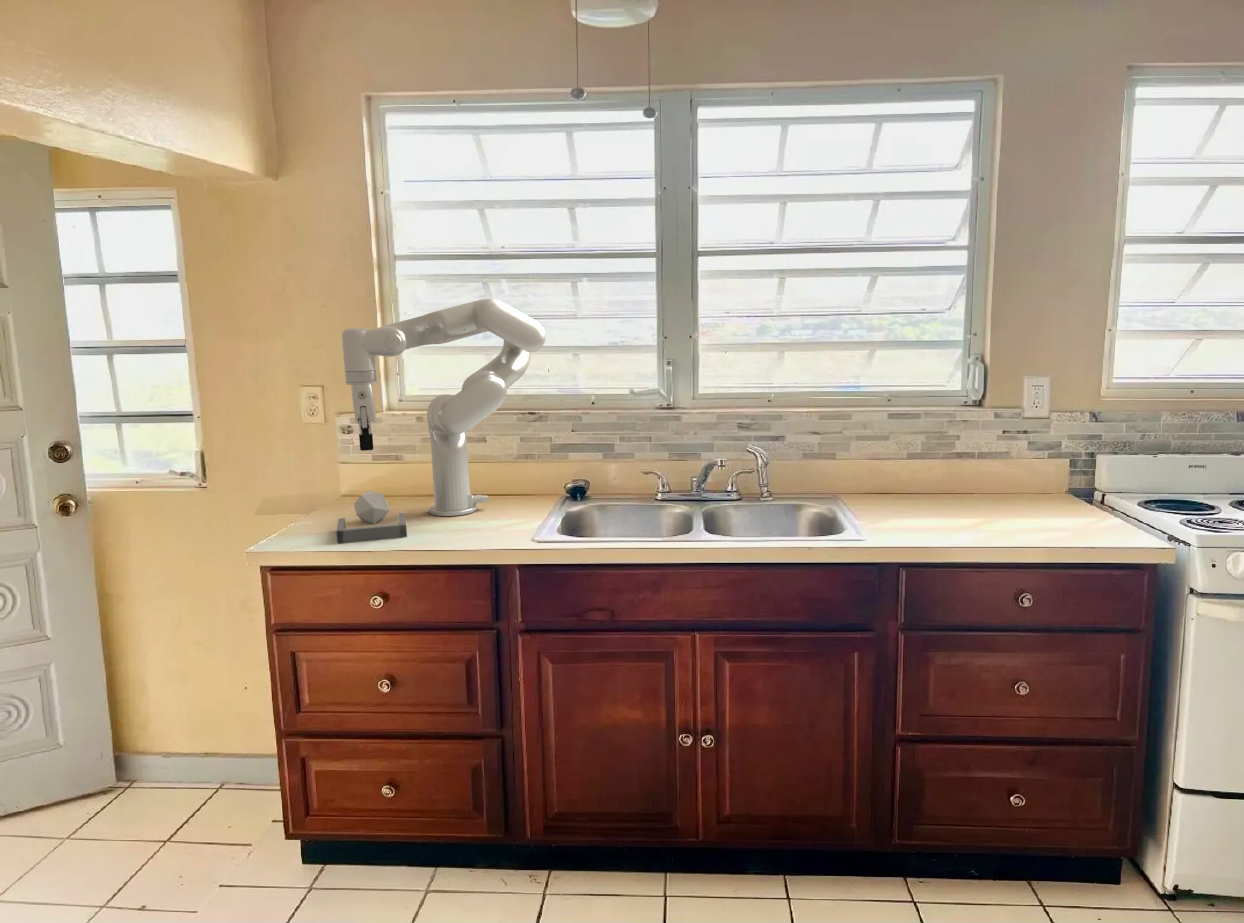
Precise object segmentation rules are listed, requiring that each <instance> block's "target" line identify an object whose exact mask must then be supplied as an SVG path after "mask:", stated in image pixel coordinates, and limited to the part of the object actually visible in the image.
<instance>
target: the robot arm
mask: <svg viewBox="0 0 1244 923" xmlns="http://www.w3.org/2000/svg"><path fill="white" fill-rule="evenodd" d="M486 332H490V333H492V334H493V335H494V336H497V337H498V338H500V339H502V340H503V345H502V349H501V351H500V352H499V353H498V355H497V356H495V358H494V359H492V360H491V361H490V362H488V363H487V364H485V365H484V366H482V367H481V368H480V369H478V370H476V371H475V372H472V373H471V374H470V375H469V376H467V377H466V379H465V380H464V381H463V384H462V386H461V390H459V392H457V393H456V394H454V395H452V394H446V393H445V394H440V395H438V396H436V397H434V398H433V399H432V400H431V401H430V402H429V404H428V407H427V411H426V417H427V418H426V419H427V420H426V421H427V427H428V433H429V439H430V450H431V464H432V468H431V470H432V480H433V483H432V484H433V498H434V505H431V506H430V507H429V513H430V514H431V515H433V516H438V517H455V516H463V515H468V514H471V513H474V512H476V510H477V508H478V506H477V504H479V503H482V504H483V503H488V502H489V499H488V498H489V496H488V494H487V495H483V494H478V495H477V494H476V495H475V494H473V493H472V492H471V488H470V486H471V485H470V471H469V470H470V469H469V456H468V454H469V451H468V440H467V433H466V432H467V431H470V430H471V429H473V428H474V427H476V426H477V425H478V424H479V423H481V422H482V421H483V420H485V419H486V418H488V417H489V416H490V415H492V414H493V413H494V412H496V411H497V410H498V409H499V408H500V407H501V406H502V405H503V403H504V402H505V400H506V398H507V395H508V394H507V392H508V389H509V388H511V386H512V385H514V384H515V383H517V381H518V380H520V379H521V378H522V377H523V375H525V373H526V371H527V370H528V367H529V364H530V362H531V361H530V360H531V358H532V353H534V352H537V351H538V350H540V349H541V348H543V345H544V344H545V342H546V331H545V328H544V327H543V325H542V324H540V322H539V321H537V320H535V319H534V318H532V317H530V316H528V315H526V314H524V313H523V312H521V311H519V310H517V309H515V308H514V307H512V306H510V305H508V304H507V303H505V302H503V301H501V300H499V299H496V298H483V299H478V300H473V301H470V302H466V303H461V304H458V305H454V306H452V307H448V308H447V307H446V308H444V309H438V310H436V311H432V312H429V313H426V314H423V315H420V316H416V317H413V318H409V319H405V320H400V321H398V322H394V323H390V324H386V325H383V326H379V327H377V328H374V329H373V328H371V329H370V328H363V327H362V328H361V327H360V328H359V327H358V328H355V327H354V328H348V329H344V330H343V331H342V334H341V342H342V351H343V364H344V377H345V379H344V380H345V385H347V386H351V398H352V407H353V414H354V420H355V423H356V424H358V428H359V433H358V434H359V435H358V438H359V450H360V451H362V452H364V451H373V450H374V438H373V433H372V427H371V426H372V425H371V424H372V423H371V422H373V424H375V423H376V422H377V416H376V414H377V413H376V401H375V400H376V399H375V391H374V385H373V384H377V383H378V382H377V381H378V380H377V365H376V357H377V356H379V357H390V358H391V357H393V358H394V357H397V356H399V355H402V353H403V352H404V351H405V350H410V349H414V348H417V347H423V346H429V345H442V344H448V343H451V342H454V341H457V340H462V339H465V338H468V337H471V336H475V335H479V334H482V333H486Z"/></svg>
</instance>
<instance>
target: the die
mask: <svg viewBox="0 0 1244 923" xmlns="http://www.w3.org/2000/svg"><path fill="white" fill-rule="evenodd" d="M353 505H354V506H353V507H354V509H355V513H356V514H355V515H356V516H357V517H358V518H359V520H360V521H361V522H363V523H368V524H372V525H375V524H377V523H378V522H380V521H382V520H383V518H384V517H385V516H386V515H387V514H388V513H389V512H390V508H389V505H388V502H387V499H386V498H385V496H384V495H383V493H382V492H378V491H372V490H368V491H366V492H363V493H362V494H361V495H360V496H359V497H358V498H357V499H356V501H355V502H354V503H353Z"/></svg>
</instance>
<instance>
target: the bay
mask: <svg viewBox="0 0 1244 923" xmlns="http://www.w3.org/2000/svg"><path fill="white" fill-rule="evenodd" d="M346 525H347V524H346V518H345V517H342V518H338V519H337V527H336V531H335V532H336V539H337V540H336V542H337V544H346V543H358V542H359V543H360V542H368V541H379V540H388V539H389V540H390V539H401V538H407V537H408V533H407V532H408V531H407V530H408V529H407V521H406V514H405V512H399V513H398V524H397V523H395V524H383V525H376V526H375V525H374V526H366V527H365V526H363V527H351V528H346Z"/></svg>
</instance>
